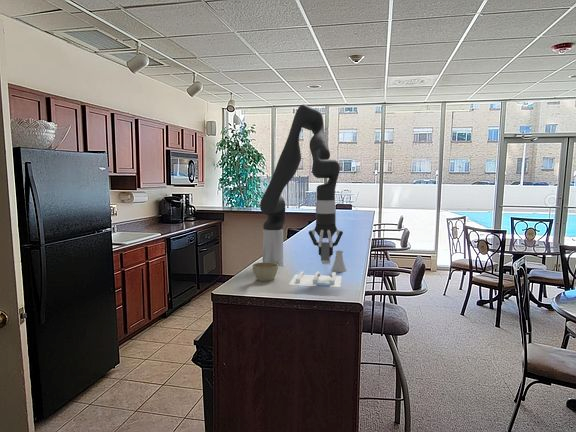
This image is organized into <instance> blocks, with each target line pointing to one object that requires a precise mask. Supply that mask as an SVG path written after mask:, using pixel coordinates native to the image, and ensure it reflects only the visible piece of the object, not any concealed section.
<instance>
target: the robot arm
mask: <svg viewBox="0 0 576 432" xmlns="http://www.w3.org/2000/svg"><path fill="white" fill-rule="evenodd" d="M292 119H293V120H292V123H291V127H290V130H289V133H288V136H287V138H286V140H285V144H284V146H283V148H282V152H281V154H280V155H279V158H278V160H277V164H276V166H275V169H274V171H273V174H272V176H271V179H270V181H269V183H268V185H267V188H266V190H265V191H264V193H263V194H262V197H261V199H260V203H259V208H260V211H261V213H262V214H264V215H265V216H267V219H266V220H265V221H264V223H263V225H262V227H263V229H262V230H263V232H262V233H263V234H262V235H263V245H262V248H261V249H262V252H261V254H262V262H269V263H276V264H278V267H283V266H284V224H285V222H286V220H285V219H286V201H285V199H284V197H283V196H282V193H283V191H284V190H285V187H286V186H287V185H288V184H289V183H290V182H291V180H292V179H293V177H294V176H295V175H296V172H297V170H298V169H299V167H300V164H301V161H302V153H301V146H300V136H301V135H300V134H301V131H302V129H305V130H308V131H311V133H312V134H313V135H312V137H311V139H310V141H309V150H310V153H311V156H312V157H311V158H312V165H311V174H312V176H313V177H314V178H316V179H327V182H326V183H322V184H318V185H317V186H316V203H315V227H314V228H313V229H311V230H308V235H309V236H310V239H311V242H312V243H313V246H317V247H318V255H319V256H320V258H321V242H324V241H323V240H324V239H328V242H329V245H330V258H331V257H332V256H333V255H334V251H333V250H334V247H336V246H338V244H339V242H340V241H341V238H342V236H343V234H344V232H343V231H344V230H339V229H338V228H337V226H336V221H337V220H336V219H337V217H336V215H337V213H336V186H337V182H338V178H339V174H340V170H341V165H340V163H339V162H338V160H336V159H330V157H331V152H330V149H329V146H328V143H327V139H326V136H325V135H326V133H325V125H324V116H323V114H322V112H321V110H318V109H316V108H313V107H312V106H310V105H306V104H301V105H300V106H298V108H297V110H296V111H295V114H294V117H293V118H292ZM316 234H317V235H318V237H319V239H318V241H317V238H316ZM335 234H336V239H335V241H334V242H333V237H334V235H335Z"/></svg>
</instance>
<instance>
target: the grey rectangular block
mask: <svg viewBox="0 0 576 432" xmlns="http://www.w3.org/2000/svg"><path fill="white" fill-rule="evenodd" d="M320 261H321V264H322V265H331V257H330V245H329V241H328V242H327V241H325V242H324V241H322V242H321V257H320Z"/></svg>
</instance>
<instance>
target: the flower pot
mask: <svg viewBox="0 0 576 432" xmlns="http://www.w3.org/2000/svg"><path fill="white" fill-rule="evenodd" d="M278 267H279V266H278V264H276V263H269V262H263V261H261V262H255V263H253V264H252V271H253V274H254V277H255V279H256V280H257V281H259V282H271V281H274V279H276V278H275V277H276V275H277V272H278Z"/></svg>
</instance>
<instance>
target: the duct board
mask: <svg viewBox="0 0 576 432" xmlns="http://www.w3.org/2000/svg"><path fill="white" fill-rule="evenodd" d="M341 283H342V275H337V272H334V271H332V272H331V273H330V275H323V274H321V272H320V271H316V272H315V274H305V270H299V273H297V274H296V273H295V274H294V275H293V277H292V279H291V280H290V282H289V283H288V286H304V287H305V286H306V287H307V286H308V287H324V288H325V287H326V288H327V287H328V288H331V287H332V288H341Z"/></svg>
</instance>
